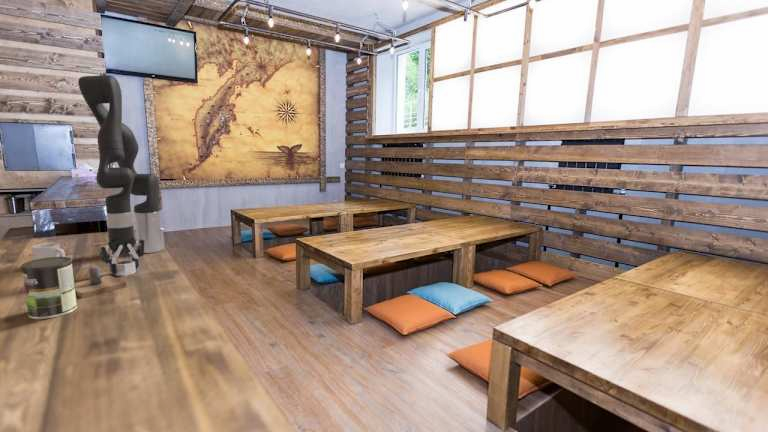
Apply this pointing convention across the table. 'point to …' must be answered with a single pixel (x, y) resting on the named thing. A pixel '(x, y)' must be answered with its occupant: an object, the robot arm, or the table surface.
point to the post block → (97, 284)
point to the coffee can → (49, 287)
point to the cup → (47, 250)
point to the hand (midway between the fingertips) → (124, 270)
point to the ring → (125, 267)
